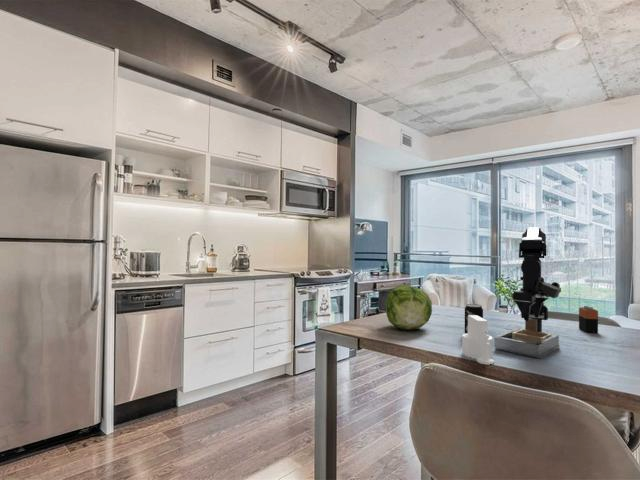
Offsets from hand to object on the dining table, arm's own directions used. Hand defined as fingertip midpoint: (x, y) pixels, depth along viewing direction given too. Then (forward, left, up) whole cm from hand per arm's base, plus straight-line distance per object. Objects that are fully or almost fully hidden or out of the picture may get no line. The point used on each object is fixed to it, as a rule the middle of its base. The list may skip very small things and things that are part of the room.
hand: (531, 319), depth 131 cm
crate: (0, 0, -8) cm, 8 cm away
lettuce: (+11, -43, -10) cm, 45 cm away
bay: (+4, 0, -10) cm, 10 cm away
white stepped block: (+24, -8, -10) cm, 27 cm away
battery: (-41, +7, -10) cm, 43 cm away
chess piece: (+29, -3, -10) cm, 30 cm away
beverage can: (+2, -20, -10) cm, 22 cm away
